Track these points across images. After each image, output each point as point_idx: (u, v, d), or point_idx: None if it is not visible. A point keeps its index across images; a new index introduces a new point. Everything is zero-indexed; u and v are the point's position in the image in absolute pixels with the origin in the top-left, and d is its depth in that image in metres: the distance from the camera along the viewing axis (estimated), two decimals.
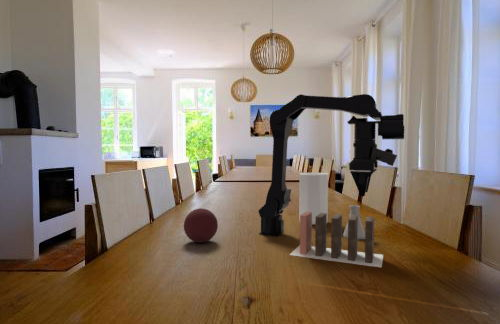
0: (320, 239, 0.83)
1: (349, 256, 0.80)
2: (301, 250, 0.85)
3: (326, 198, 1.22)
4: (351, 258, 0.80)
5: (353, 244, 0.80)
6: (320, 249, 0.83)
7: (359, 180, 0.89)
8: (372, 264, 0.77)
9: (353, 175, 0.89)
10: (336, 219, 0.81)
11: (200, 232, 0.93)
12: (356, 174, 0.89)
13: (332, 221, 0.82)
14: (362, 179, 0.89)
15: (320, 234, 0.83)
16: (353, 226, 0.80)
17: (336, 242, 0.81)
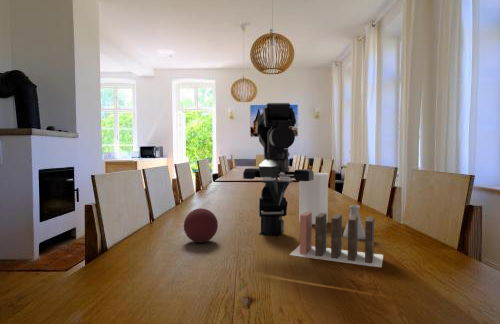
0: (320, 239, 0.83)
1: (349, 256, 0.80)
2: (301, 250, 0.85)
3: (326, 198, 1.22)
4: (351, 258, 0.80)
5: (353, 244, 0.80)
6: (320, 249, 0.83)
7: None
8: (372, 264, 0.77)
9: None
10: (336, 219, 0.81)
11: (200, 232, 0.93)
12: None
13: (332, 221, 0.82)
14: None
15: (320, 234, 0.83)
16: (353, 226, 0.80)
17: (336, 242, 0.81)
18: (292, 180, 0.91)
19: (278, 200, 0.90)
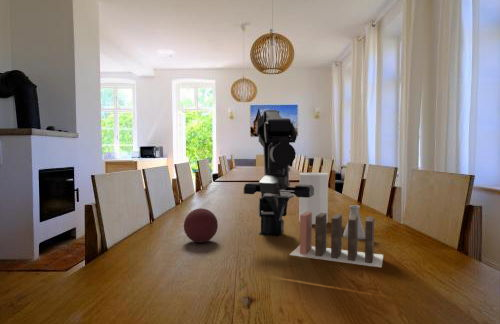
0: (320, 239, 0.83)
1: (349, 256, 0.80)
2: (301, 250, 0.85)
3: (326, 198, 1.22)
4: (351, 258, 0.80)
5: (353, 244, 0.80)
6: (320, 249, 0.83)
7: None
8: (372, 264, 0.77)
9: None
10: (336, 219, 0.81)
11: (200, 232, 0.93)
12: None
13: (332, 221, 0.82)
14: None
15: (320, 234, 0.83)
16: (353, 226, 0.80)
17: (336, 242, 0.81)
18: (292, 195, 0.91)
19: (278, 215, 0.90)
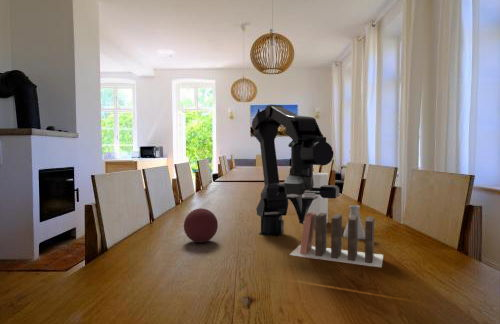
0: (320, 239, 0.83)
1: (349, 256, 0.80)
2: (301, 250, 0.85)
3: (326, 198, 1.22)
4: (351, 258, 0.80)
5: (353, 244, 0.80)
6: (320, 249, 0.83)
7: None
8: (372, 264, 0.77)
9: None
10: (336, 219, 0.81)
11: (200, 232, 0.93)
12: None
13: (332, 221, 0.82)
14: None
15: (320, 234, 0.83)
16: (353, 226, 0.80)
17: (336, 242, 0.81)
18: (317, 196, 0.88)
19: (302, 217, 0.87)
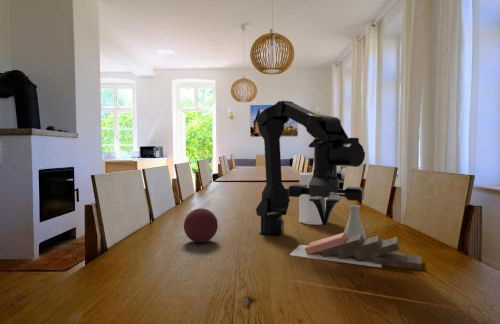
0: (338, 251, 0.81)
1: (359, 255, 0.79)
2: (308, 249, 0.84)
3: (326, 198, 1.22)
4: (358, 257, 0.79)
5: (373, 255, 0.78)
6: (329, 253, 0.82)
7: None
8: (372, 264, 0.77)
9: None
10: (378, 246, 0.78)
11: (200, 232, 0.93)
12: None
13: (374, 243, 0.78)
14: None
15: (343, 249, 0.81)
16: (391, 250, 0.76)
17: (355, 253, 0.80)
18: (340, 198, 0.85)
19: (326, 219, 0.84)
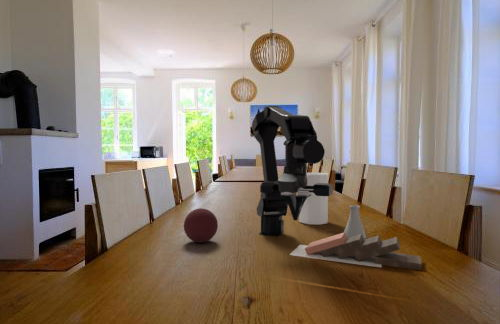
0: (338, 251, 0.81)
1: (359, 255, 0.79)
2: (308, 249, 0.84)
3: (326, 198, 1.22)
4: (358, 257, 0.79)
5: (373, 255, 0.78)
6: (329, 253, 0.82)
7: None
8: (372, 264, 0.77)
9: None
10: (378, 246, 0.78)
11: (200, 232, 0.93)
12: None
13: (374, 243, 0.78)
14: None
15: (343, 249, 0.81)
16: (391, 250, 0.76)
17: (355, 253, 0.80)
18: (310, 194, 0.89)
19: (296, 215, 0.88)
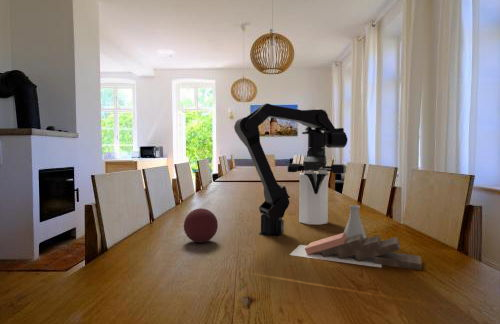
0: (338, 250, 0.81)
1: (359, 255, 0.79)
2: (308, 249, 0.84)
3: (326, 198, 1.22)
4: (358, 257, 0.79)
5: (373, 255, 0.78)
6: (329, 253, 0.82)
7: None
8: (372, 264, 0.77)
9: None
10: (378, 246, 0.78)
11: (200, 232, 0.93)
12: None
13: (374, 243, 0.78)
14: None
15: (343, 249, 0.81)
16: (391, 250, 0.76)
17: (355, 253, 0.80)
18: (328, 173, 1.11)
19: (317, 189, 1.10)
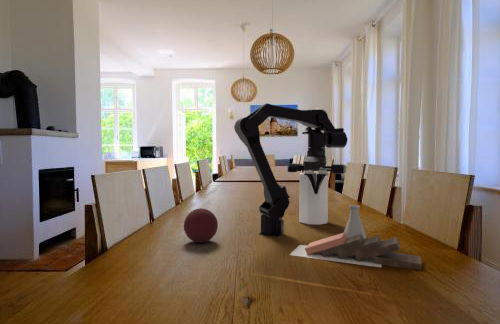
0: (338, 250, 0.81)
1: (359, 255, 0.79)
2: (308, 249, 0.84)
3: (326, 198, 1.22)
4: (358, 257, 0.79)
5: (373, 255, 0.78)
6: (329, 253, 0.82)
7: None
8: (372, 264, 0.77)
9: None
10: (378, 246, 0.78)
11: (200, 232, 0.93)
12: None
13: (374, 243, 0.78)
14: None
15: (343, 249, 0.81)
16: (391, 250, 0.76)
17: (355, 253, 0.80)
18: (328, 173, 1.11)
19: (317, 189, 1.10)
